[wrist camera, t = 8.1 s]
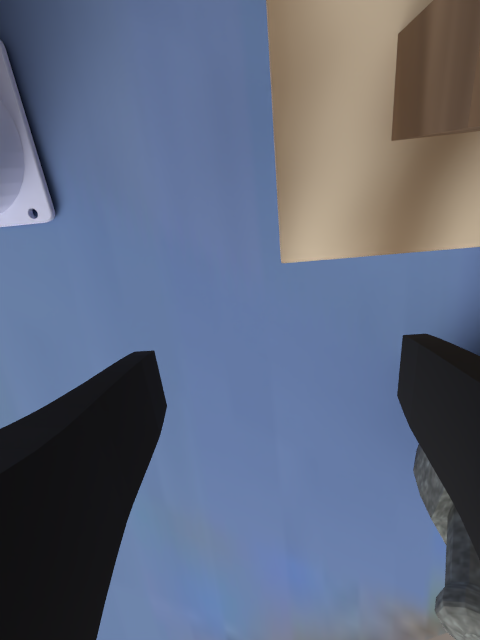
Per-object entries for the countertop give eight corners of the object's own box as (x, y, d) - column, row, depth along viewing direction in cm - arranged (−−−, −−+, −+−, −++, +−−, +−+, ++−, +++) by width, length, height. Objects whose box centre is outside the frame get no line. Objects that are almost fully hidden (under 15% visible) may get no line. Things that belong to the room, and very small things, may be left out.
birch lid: (280, 258, 15) (290, 310, 10) (260, -103, 10) (256, -373, 5) (561, 234, 14) (745, 278, 9) (669, -179, 9) (1190, -618, 4)
